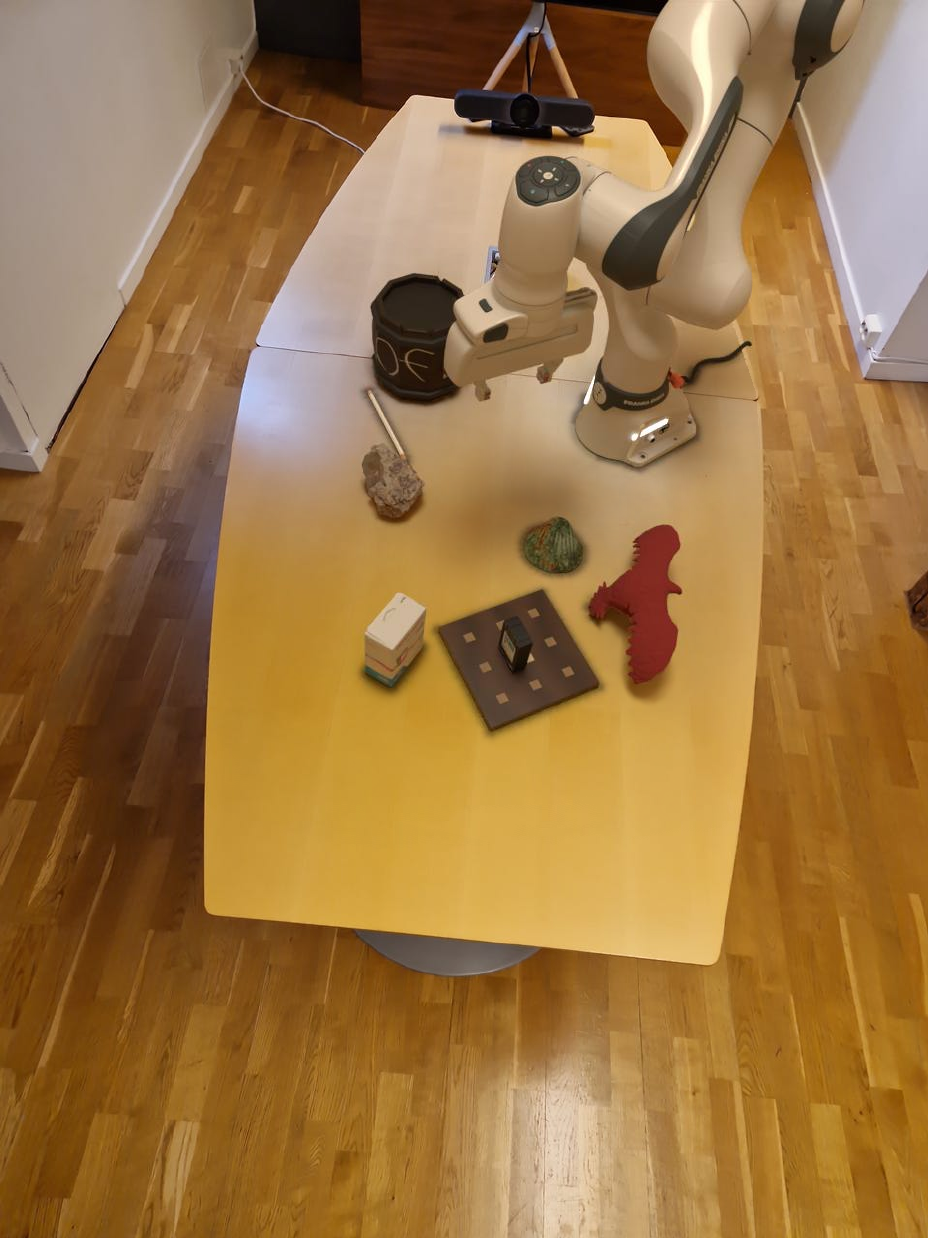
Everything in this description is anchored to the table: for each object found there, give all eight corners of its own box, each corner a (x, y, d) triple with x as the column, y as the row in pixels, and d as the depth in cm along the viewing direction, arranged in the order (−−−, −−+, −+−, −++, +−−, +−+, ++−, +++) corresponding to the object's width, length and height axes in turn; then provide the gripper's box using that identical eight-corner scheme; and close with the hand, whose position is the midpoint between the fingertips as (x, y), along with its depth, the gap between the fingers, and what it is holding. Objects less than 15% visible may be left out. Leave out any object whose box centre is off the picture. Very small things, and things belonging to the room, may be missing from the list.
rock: (388, 536, 136) (428, 510, 130) (334, 494, 130) (374, 465, 124) (399, 500, 142) (439, 473, 135) (349, 457, 136) (387, 428, 130)
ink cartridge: (497, 646, 122) (503, 619, 115) (510, 641, 123) (517, 613, 116) (511, 673, 120) (518, 647, 113) (525, 668, 120) (533, 641, 114)
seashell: (521, 546, 128) (538, 500, 133) (515, 561, 132) (533, 516, 137) (580, 569, 128) (596, 522, 133) (573, 583, 131) (589, 537, 136)
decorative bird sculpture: (605, 704, 125) (694, 684, 115) (569, 678, 119) (658, 654, 110) (616, 556, 139) (696, 527, 130) (584, 527, 134) (664, 494, 124)
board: (541, 592, 129) (542, 588, 128) (598, 686, 121) (600, 682, 120) (438, 631, 124) (438, 626, 123) (490, 731, 116) (491, 727, 115)
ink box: (392, 689, 118) (392, 650, 108) (364, 672, 120) (361, 632, 109) (424, 647, 122) (427, 605, 112) (397, 631, 124) (397, 588, 113)
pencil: (370, 390, 149) (370, 387, 149) (408, 462, 141) (408, 460, 140) (366, 391, 149) (366, 388, 148) (404, 463, 141) (404, 461, 140)
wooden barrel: (401, 421, 146) (401, 351, 133) (355, 358, 153) (352, 286, 140) (486, 389, 152) (495, 319, 138) (438, 330, 159) (442, 258, 146)
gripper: (587, 269, 103) (568, 355, 115) (441, 305, 98) (436, 391, 110) (613, 299, 101) (590, 384, 112) (463, 338, 95) (456, 424, 107)
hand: (513, 388), depth 111 cm, fingers open, 8 cm apart
